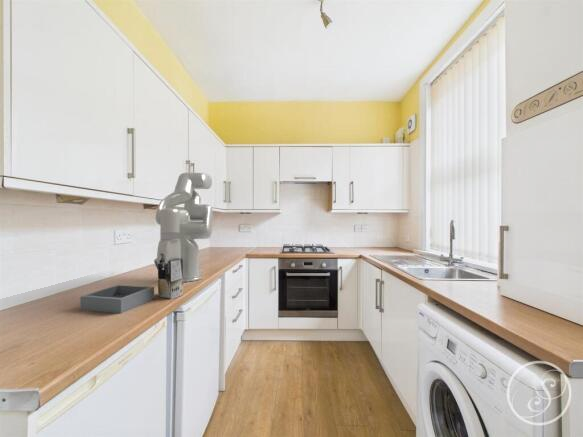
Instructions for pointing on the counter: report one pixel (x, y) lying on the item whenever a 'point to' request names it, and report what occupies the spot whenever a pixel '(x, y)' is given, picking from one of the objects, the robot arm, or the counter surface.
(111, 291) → the box
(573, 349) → the counter surface
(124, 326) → the counter surface
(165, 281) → the coffee box
